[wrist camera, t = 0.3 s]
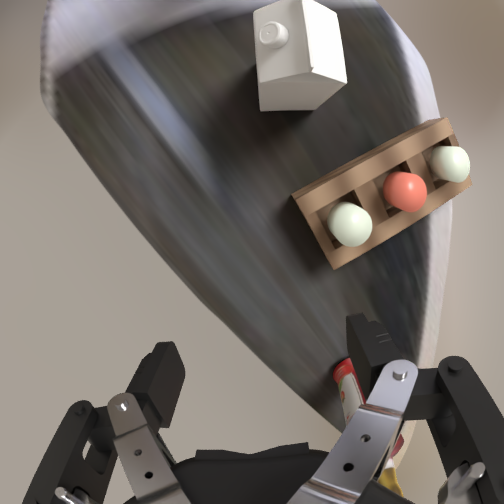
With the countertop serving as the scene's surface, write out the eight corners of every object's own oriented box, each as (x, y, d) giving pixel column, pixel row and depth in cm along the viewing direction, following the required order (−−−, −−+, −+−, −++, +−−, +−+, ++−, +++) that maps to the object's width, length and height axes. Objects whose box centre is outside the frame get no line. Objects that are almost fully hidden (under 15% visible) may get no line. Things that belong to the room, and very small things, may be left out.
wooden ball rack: (325, 256, 40) (333, 270, 35) (291, 194, 37) (295, 199, 32) (453, 180, 35) (472, 184, 30) (428, 119, 32) (447, 117, 28)
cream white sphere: (437, 184, 31) (452, 188, 27) (425, 153, 30) (439, 154, 26) (458, 171, 30) (473, 174, 27) (447, 141, 29) (462, 141, 25)
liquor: (363, 380, 47) (406, 507, 21) (326, 381, 47) (355, 520, 21) (374, 350, 45) (433, 484, 18) (335, 351, 45) (378, 500, 18)
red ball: (391, 212, 32) (403, 219, 29) (376, 181, 31) (388, 184, 28) (417, 196, 31) (431, 201, 28) (404, 165, 30) (418, 167, 27)
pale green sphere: (337, 244, 34) (344, 253, 30) (320, 213, 33) (327, 219, 29) (367, 226, 33) (378, 234, 30) (352, 195, 32) (362, 199, 28)
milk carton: (310, 61, 31) (348, -8, 13) (314, 110, 33) (363, 70, 15) (256, 62, 31) (250, -12, 13) (260, 111, 34) (258, 68, 16)
